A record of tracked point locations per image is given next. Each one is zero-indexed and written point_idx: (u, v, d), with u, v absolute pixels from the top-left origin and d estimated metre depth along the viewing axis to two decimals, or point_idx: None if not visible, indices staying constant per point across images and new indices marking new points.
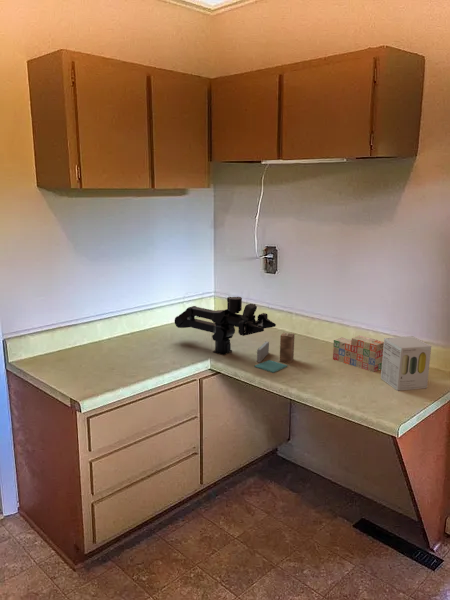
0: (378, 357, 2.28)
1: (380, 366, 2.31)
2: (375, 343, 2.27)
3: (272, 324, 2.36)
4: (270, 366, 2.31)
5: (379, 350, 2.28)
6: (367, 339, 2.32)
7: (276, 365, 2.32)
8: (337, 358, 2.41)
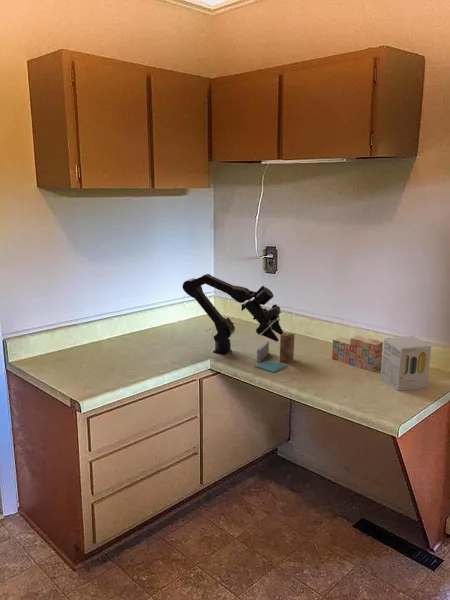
0: (377, 357, 2.28)
1: (379, 366, 2.31)
2: (374, 343, 2.27)
3: (281, 332, 2.43)
4: (270, 366, 2.31)
5: (378, 350, 2.28)
6: (366, 339, 2.32)
7: (276, 365, 2.32)
8: (336, 358, 2.41)
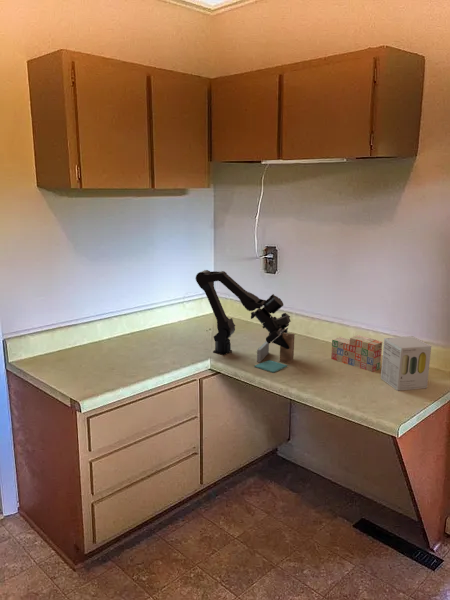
0: (376, 357, 2.28)
1: (378, 366, 2.31)
2: (373, 343, 2.27)
3: None
4: (270, 366, 2.31)
5: (377, 350, 2.28)
6: (365, 339, 2.32)
7: (276, 365, 2.32)
8: (335, 358, 2.41)
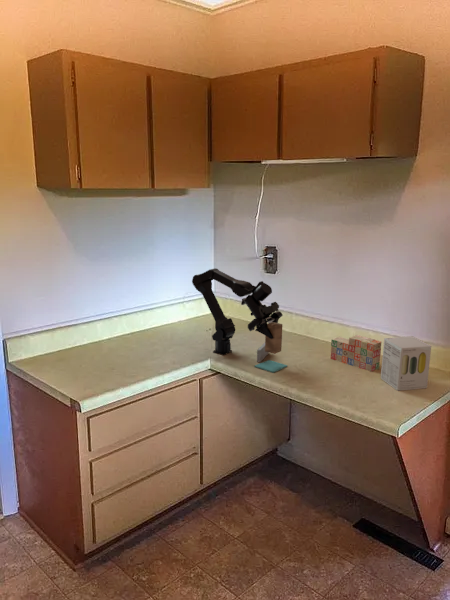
0: (375, 356, 2.29)
1: (377, 365, 2.31)
2: (372, 342, 2.28)
3: None
4: (270, 366, 2.31)
5: (376, 349, 2.28)
6: (365, 339, 2.33)
7: (276, 365, 2.32)
8: (335, 357, 2.42)
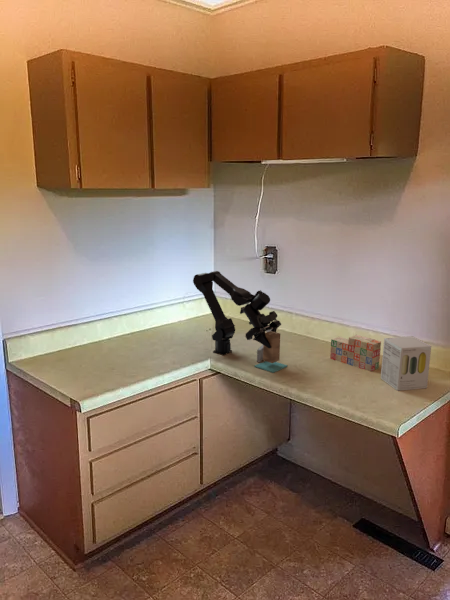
0: (375, 356, 2.29)
1: (377, 365, 2.32)
2: (372, 342, 2.28)
3: None
4: (270, 366, 2.31)
5: (376, 349, 2.28)
6: (364, 338, 2.33)
7: (276, 365, 2.32)
8: (334, 357, 2.42)
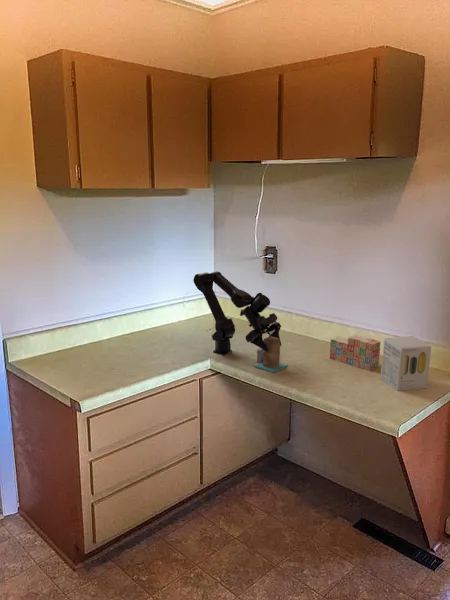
0: (374, 356, 2.29)
1: (376, 365, 2.32)
2: (371, 342, 2.28)
3: None
4: None
5: (375, 349, 2.28)
6: (364, 338, 2.33)
7: None
8: (334, 357, 2.42)
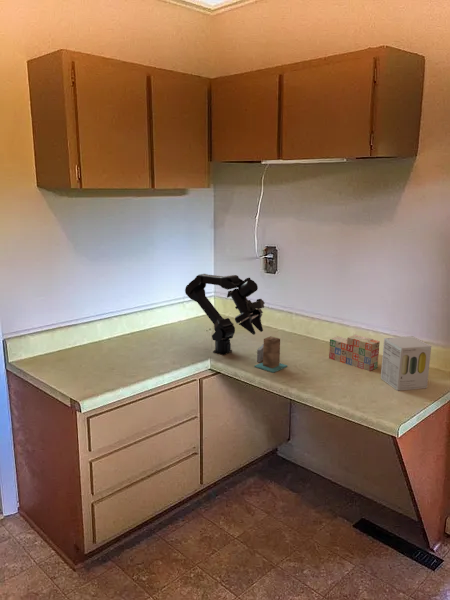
0: (374, 356, 2.29)
1: (376, 365, 2.32)
2: (371, 342, 2.28)
3: (260, 328, 2.40)
4: None
5: (375, 349, 2.29)
6: (363, 338, 2.33)
7: None
8: (333, 357, 2.42)
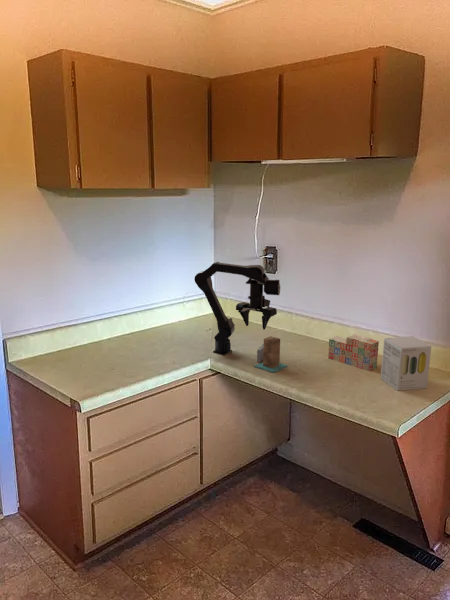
0: (373, 356, 2.29)
1: (375, 365, 2.32)
2: (370, 342, 2.28)
3: (247, 322, 2.46)
4: None
5: (374, 349, 2.29)
6: (362, 338, 2.33)
7: None
8: (332, 357, 2.42)
